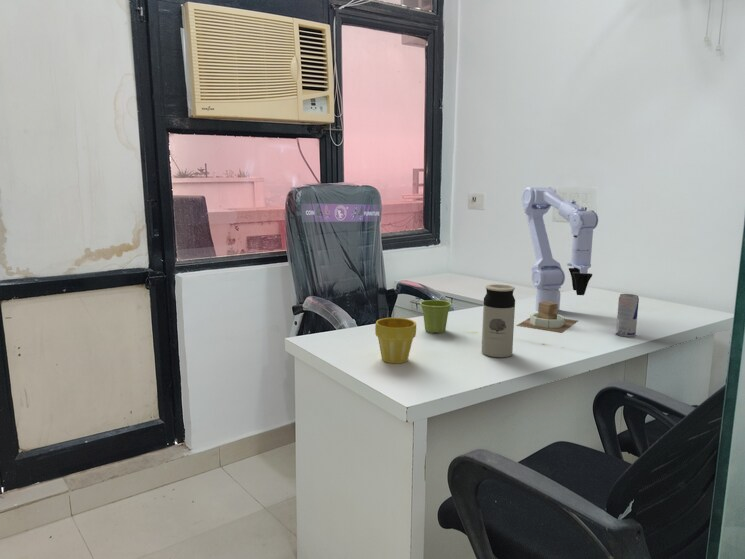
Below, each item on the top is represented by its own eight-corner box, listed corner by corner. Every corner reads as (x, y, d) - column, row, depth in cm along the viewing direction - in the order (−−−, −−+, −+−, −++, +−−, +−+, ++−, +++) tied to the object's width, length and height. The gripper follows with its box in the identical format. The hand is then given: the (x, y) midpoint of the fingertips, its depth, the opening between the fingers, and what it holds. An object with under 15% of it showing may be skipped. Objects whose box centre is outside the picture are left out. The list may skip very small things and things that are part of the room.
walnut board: (535, 317, 185) (535, 314, 185) (578, 323, 177) (578, 320, 177) (515, 328, 170) (515, 325, 170) (561, 336, 162) (561, 332, 162)
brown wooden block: (546, 319, 175) (547, 301, 174) (556, 322, 172) (557, 303, 171) (537, 321, 173) (538, 302, 172) (547, 324, 170) (548, 305, 169)
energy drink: (637, 334, 164) (641, 295, 162) (631, 338, 161) (635, 298, 158) (619, 331, 168) (622, 292, 166) (613, 334, 164) (616, 295, 162)
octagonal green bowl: (536, 318, 179) (537, 311, 179) (566, 322, 174) (567, 315, 173) (526, 324, 171) (526, 317, 171) (557, 329, 166) (558, 321, 166)
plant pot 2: (413, 330, 167) (413, 303, 165) (431, 325, 174) (432, 298, 172) (438, 337, 161) (439, 308, 159) (456, 330, 168) (457, 302, 166)
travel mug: (487, 347, 151) (490, 282, 148) (515, 352, 147) (519, 285, 144) (477, 355, 144) (480, 287, 141) (507, 360, 140) (510, 290, 137)
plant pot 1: (423, 361, 139) (424, 324, 137) (390, 368, 133) (390, 329, 131) (399, 350, 147) (400, 315, 146) (367, 357, 142) (367, 320, 140)
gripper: (565, 246, 179) (562, 287, 182) (571, 252, 165) (568, 296, 168) (588, 247, 178) (585, 288, 180) (596, 253, 164) (592, 297, 166)
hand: (578, 292), depth 174 cm, fingers open, 7 cm apart
